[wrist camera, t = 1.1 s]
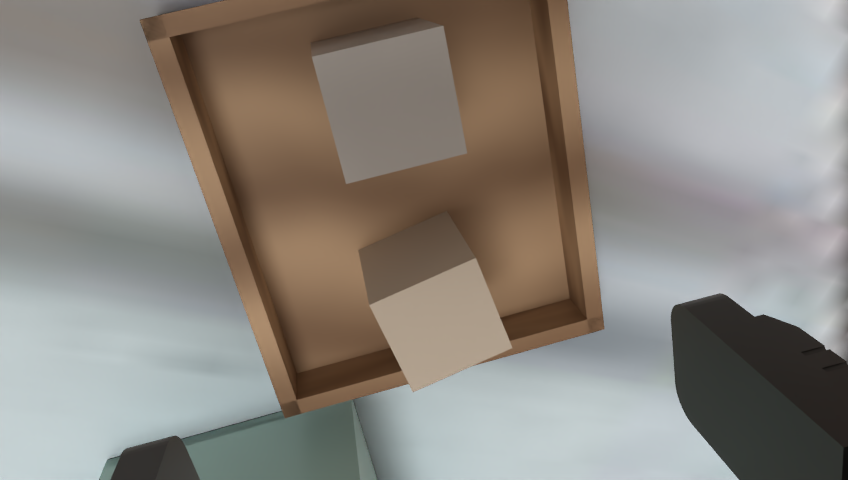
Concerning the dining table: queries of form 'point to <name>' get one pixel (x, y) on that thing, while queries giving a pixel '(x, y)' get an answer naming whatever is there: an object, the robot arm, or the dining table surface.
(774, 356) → the robot arm
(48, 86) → the dining table surface
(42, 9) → the dining table surface
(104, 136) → the dining table surface
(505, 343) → the beige matte cube
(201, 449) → the teal bin
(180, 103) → the walnut tray
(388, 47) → the grey brown block
